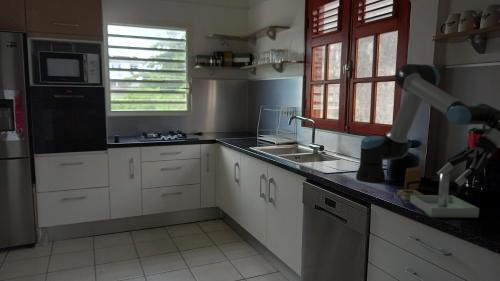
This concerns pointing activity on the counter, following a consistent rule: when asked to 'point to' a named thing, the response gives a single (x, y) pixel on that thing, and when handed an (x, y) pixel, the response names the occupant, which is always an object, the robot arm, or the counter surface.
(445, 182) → the lock pin
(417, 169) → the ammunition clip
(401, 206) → the counter surface
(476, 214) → the tray
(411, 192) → the pin dock
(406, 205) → the counter surface
